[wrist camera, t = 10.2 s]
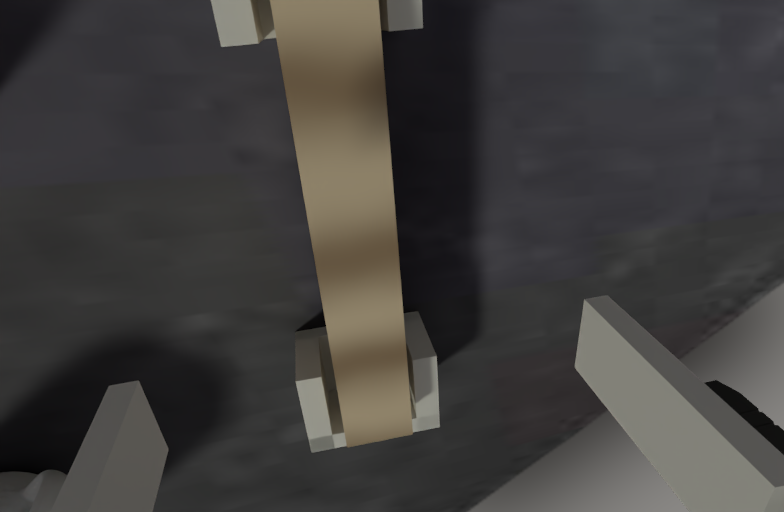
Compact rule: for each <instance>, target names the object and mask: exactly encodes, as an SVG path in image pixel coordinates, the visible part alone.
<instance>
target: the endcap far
mask: <svg viewBox="0 0 784 512" xmlns="http://www.w3.org/2000/svg"><path fill="white" fill-rule="evenodd" d="M403 314H404V327H405V339H406V352H407V365H408V377H409V390H410V402H411V415H412V428H413V432H417V431H422V430H427V429H432V428H437V427H440V423H439V399H438V374H437V355H436V353H435V351H434V348H433V346H432V343H431V341H430V339H429V336H428V334H427V331H426V329H425V327H424V324H423V322H422V319H421V317H420V315H419V312H418V311H415V312H409V313H403ZM295 349H296V385H297V390H298V394H299V399H300V403H301V408H302V412H303V417H304V421H305V426H306V430H307V435H308V439H309V444H310V448H311V453H313V452H318V451H323V450H328V449H333V448H338V447H343V446H347V444H346V439H345V433H344V427H343V421H342V415H341V410H340V404H339V398H338V392H337V386H336V381H335V375H334V369H333V363H332V357H331V352H330V346H329V340H328V334H327V328H326V327H320V328H314V329H308V330H302V331H296V332H295Z"/></svg>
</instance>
